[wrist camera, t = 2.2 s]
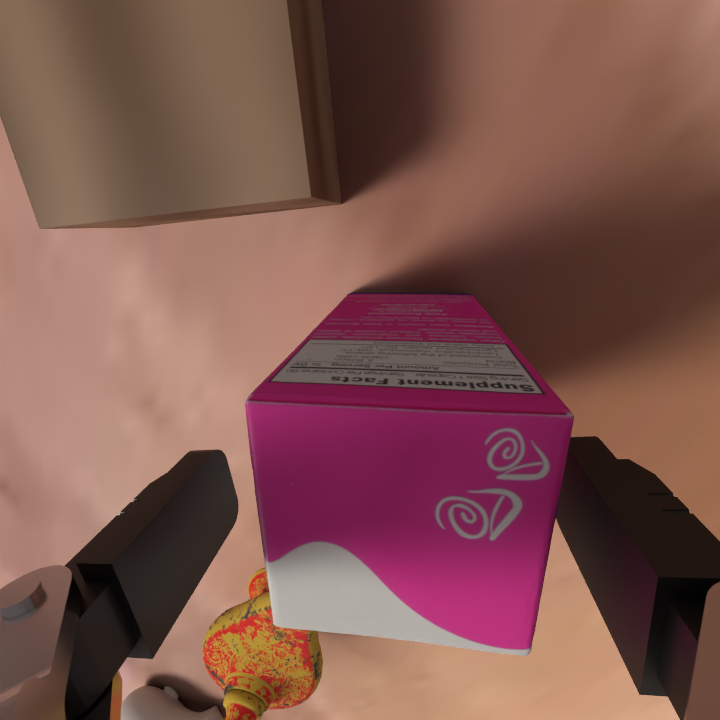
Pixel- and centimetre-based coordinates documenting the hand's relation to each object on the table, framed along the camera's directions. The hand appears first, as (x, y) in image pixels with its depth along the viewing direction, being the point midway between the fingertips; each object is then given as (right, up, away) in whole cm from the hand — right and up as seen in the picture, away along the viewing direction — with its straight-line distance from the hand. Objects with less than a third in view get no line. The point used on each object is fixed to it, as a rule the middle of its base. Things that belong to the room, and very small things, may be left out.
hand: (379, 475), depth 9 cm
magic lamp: (-5, -11, +15) cm, 19 cm away
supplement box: (+2, +3, +9) cm, 10 cm away
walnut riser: (-7, +14, +6) cm, 17 cm away
